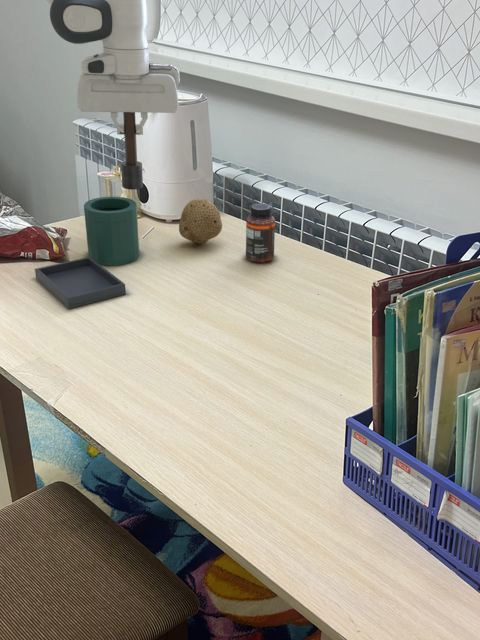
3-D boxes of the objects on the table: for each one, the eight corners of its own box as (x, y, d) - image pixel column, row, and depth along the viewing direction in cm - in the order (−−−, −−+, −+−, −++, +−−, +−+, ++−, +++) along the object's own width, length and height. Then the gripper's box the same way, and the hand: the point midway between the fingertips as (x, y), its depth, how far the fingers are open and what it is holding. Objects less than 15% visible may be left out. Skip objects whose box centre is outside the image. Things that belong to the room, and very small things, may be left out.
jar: (80, 252, 144) (75, 201, 139) (124, 243, 150) (121, 193, 144) (102, 269, 137) (97, 216, 132) (147, 258, 143) (145, 207, 137)
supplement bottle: (268, 251, 149) (270, 200, 143) (277, 262, 144) (280, 209, 138) (241, 254, 147) (243, 202, 141) (250, 265, 142) (251, 211, 136)
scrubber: (118, 185, 150) (114, 108, 142) (136, 182, 152) (133, 106, 144) (128, 190, 147) (124, 112, 139) (146, 187, 149) (143, 110, 141)
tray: (36, 278, 132) (34, 268, 131) (90, 266, 138) (89, 256, 137) (68, 309, 122) (67, 298, 121) (126, 294, 128) (125, 283, 127)
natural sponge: (230, 243, 152) (231, 199, 147) (204, 255, 145) (204, 209, 140) (199, 233, 156) (199, 190, 151) (172, 244, 150) (171, 199, 145)
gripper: (178, 61, 141) (179, 130, 148) (75, 59, 138) (81, 130, 145) (180, 66, 136) (181, 138, 143) (73, 63, 132) (79, 137, 139)
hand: (130, 134), depth 144 cm, fingers closed on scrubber, 2 cm apart
